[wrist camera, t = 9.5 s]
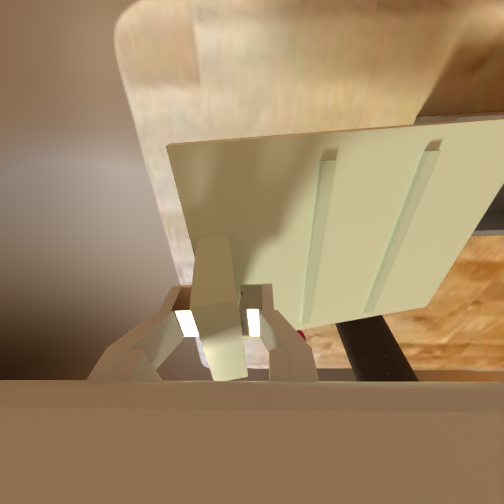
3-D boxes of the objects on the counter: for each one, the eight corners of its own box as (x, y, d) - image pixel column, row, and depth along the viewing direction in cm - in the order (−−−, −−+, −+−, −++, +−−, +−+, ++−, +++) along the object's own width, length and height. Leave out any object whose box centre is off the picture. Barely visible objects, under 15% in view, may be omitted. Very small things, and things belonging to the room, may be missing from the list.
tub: (577, 106, 21) (663, 105, 17) (503, 213, 28) (550, 233, 24) (416, 116, 22) (457, 117, 18) (382, 218, 29) (405, 238, 24)
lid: (500, 115, 11) (753, 116, 6) (408, 291, 18) (485, 359, 13) (173, 141, 9) (125, 173, 4) (217, 324, 16) (219, 418, 11)
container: (324, 323, 42) (365, 457, 26) (350, 294, 38) (421, 437, 21) (359, 332, 44) (420, 465, 27) (389, 306, 39) (484, 448, 23)
